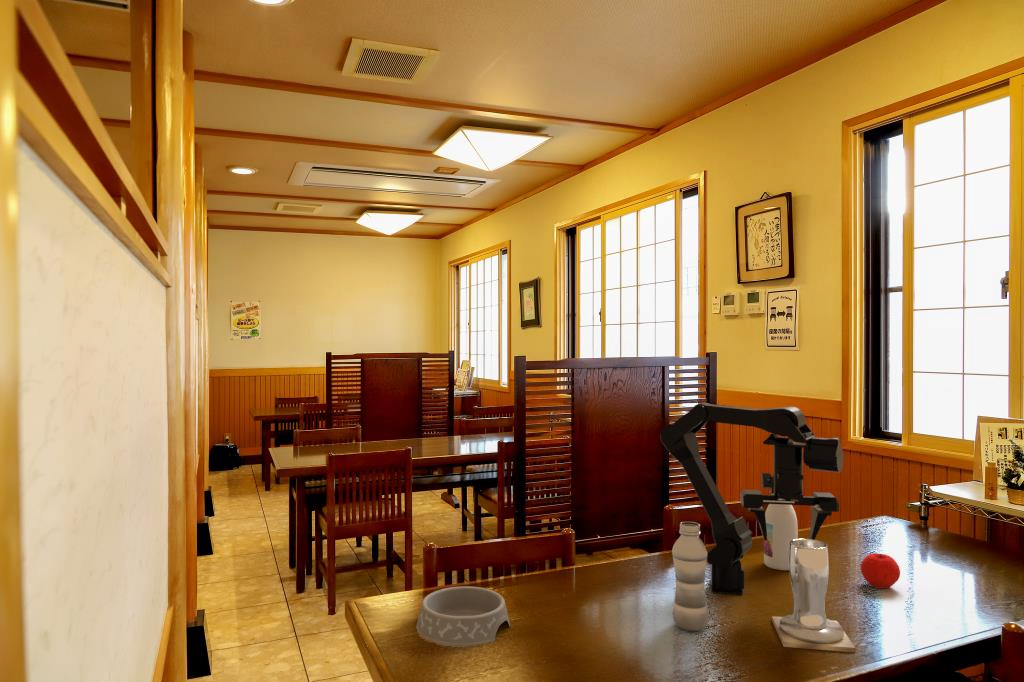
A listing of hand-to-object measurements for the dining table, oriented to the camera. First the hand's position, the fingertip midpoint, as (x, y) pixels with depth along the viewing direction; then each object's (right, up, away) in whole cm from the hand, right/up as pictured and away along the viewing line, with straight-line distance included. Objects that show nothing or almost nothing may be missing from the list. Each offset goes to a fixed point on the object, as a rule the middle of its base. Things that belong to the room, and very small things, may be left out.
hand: (788, 541), depth 144 cm
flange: (-2, -13, -16) cm, 21 cm away
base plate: (-2, -13, -16) cm, 21 cm away
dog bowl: (-68, -14, -12) cm, 70 cm away
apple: (+24, -13, +9) cm, 29 cm away
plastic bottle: (-24, -13, -13) cm, 30 cm away
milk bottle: (+8, -13, +24) cm, 28 cm away
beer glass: (-2, -11, -15) cm, 19 cm away
